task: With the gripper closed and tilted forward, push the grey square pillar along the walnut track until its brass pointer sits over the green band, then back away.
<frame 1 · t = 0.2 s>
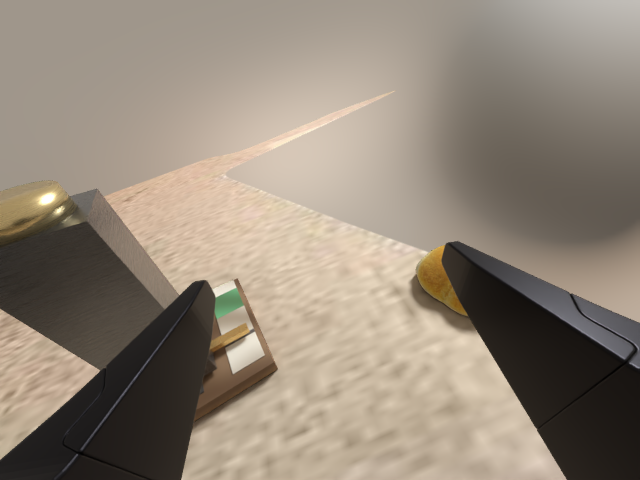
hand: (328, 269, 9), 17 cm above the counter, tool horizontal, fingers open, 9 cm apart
grey square pillar: (155, 297, 17), point 11 cm above the counter, slide at 0.0 cm
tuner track: (194, 374, 23), on the counter
bread roll: (455, 286, 28), on the counter
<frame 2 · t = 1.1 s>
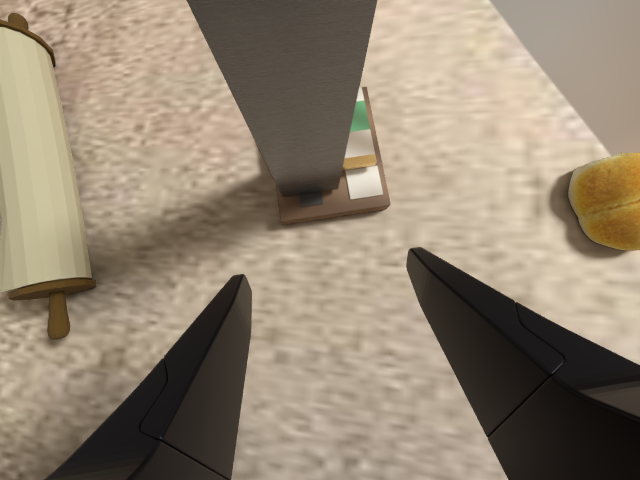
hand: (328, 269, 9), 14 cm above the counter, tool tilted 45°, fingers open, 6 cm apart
rolling pin: (65, 172, 25), on the counter
grey square pillar: (330, 102, 14), point 11 cm above the counter, slide at 0.0 cm
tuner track: (308, 180, 24), on the counter
bread roll: (602, 204, 24), on the counter
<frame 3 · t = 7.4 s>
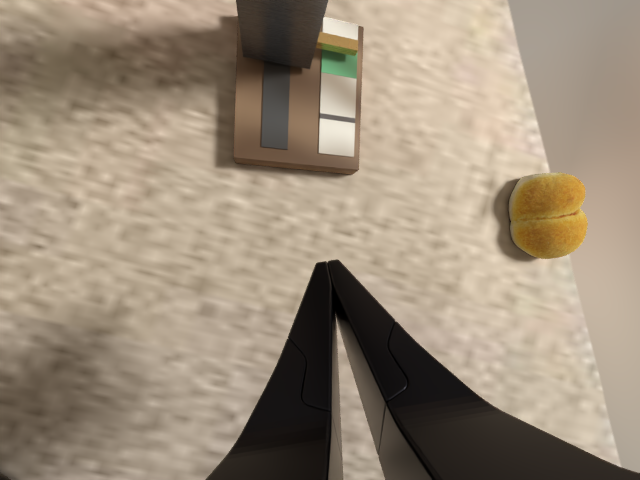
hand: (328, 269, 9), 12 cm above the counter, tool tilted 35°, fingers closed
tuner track: (275, 119, 20), on the counter
bread roll: (530, 214, 27), on the counter
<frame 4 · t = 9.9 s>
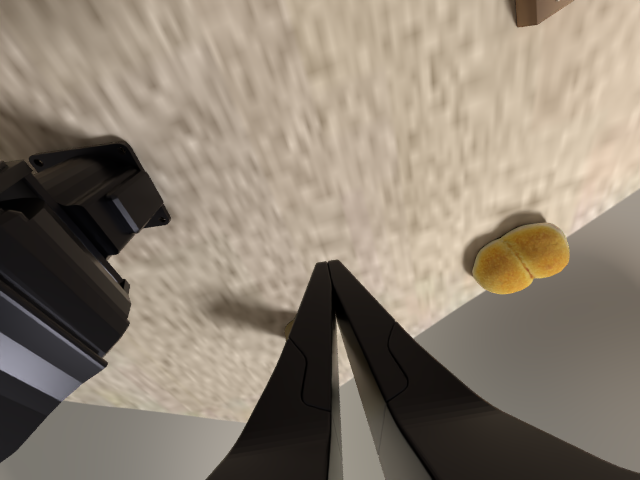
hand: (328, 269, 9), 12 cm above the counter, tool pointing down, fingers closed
bread roll: (508, 250, 28), on the counter
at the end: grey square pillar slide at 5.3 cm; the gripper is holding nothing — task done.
